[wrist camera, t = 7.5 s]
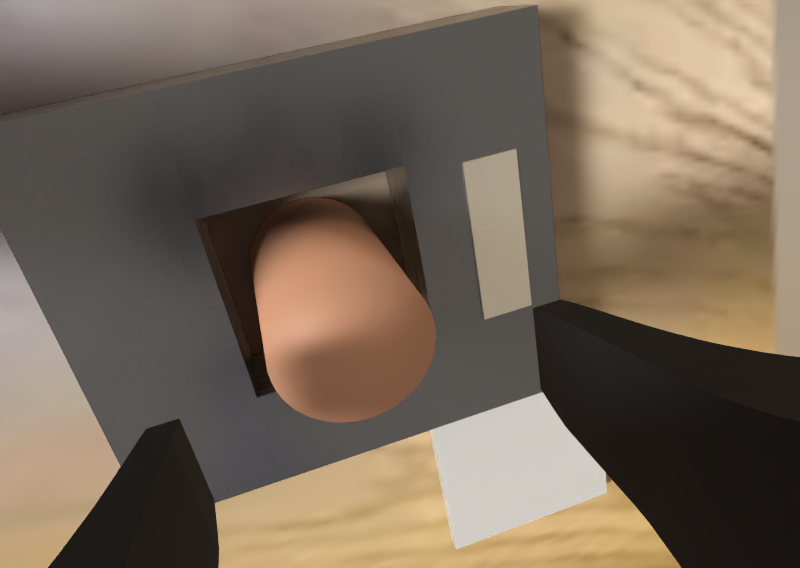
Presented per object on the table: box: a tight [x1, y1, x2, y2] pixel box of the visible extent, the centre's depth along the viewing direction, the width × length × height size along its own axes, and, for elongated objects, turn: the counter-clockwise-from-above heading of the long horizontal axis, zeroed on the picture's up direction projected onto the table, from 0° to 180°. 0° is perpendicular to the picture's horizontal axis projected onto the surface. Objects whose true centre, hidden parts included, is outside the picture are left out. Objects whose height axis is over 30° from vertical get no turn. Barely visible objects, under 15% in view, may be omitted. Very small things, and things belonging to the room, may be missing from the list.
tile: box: [429, 392, 607, 549], centre depth 25 cm, size 7×7×1 cm
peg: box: [250, 198, 436, 422], centre depth 17 cm, size 4×4×6 cm
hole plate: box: [0, 5, 559, 503], centre depth 18 cm, size 12×14×3 cm
